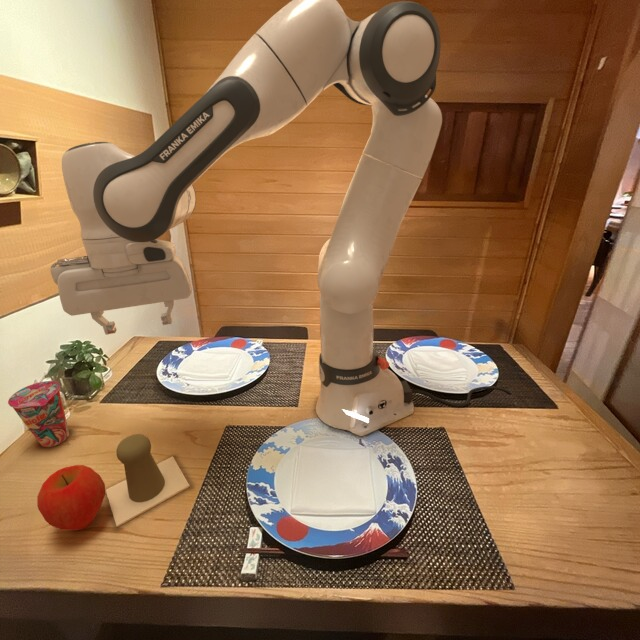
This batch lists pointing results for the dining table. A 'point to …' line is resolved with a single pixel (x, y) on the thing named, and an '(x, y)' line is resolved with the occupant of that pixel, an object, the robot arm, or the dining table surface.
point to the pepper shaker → (140, 468)
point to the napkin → (129, 509)
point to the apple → (71, 497)
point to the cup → (42, 412)
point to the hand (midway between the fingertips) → (140, 328)
